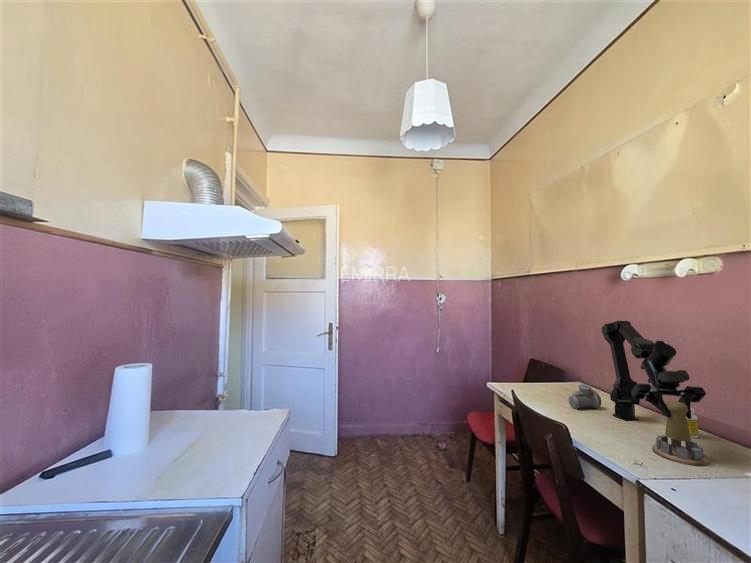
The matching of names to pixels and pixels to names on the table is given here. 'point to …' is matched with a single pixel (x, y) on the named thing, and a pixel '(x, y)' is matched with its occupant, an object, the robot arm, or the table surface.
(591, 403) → the pipe fitting
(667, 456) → the walnut base
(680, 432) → the cork
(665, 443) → the castellated collar
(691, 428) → the supplement bottle
